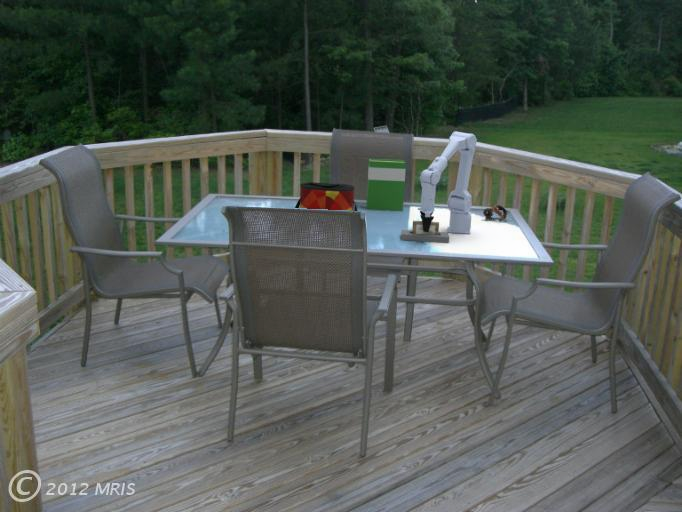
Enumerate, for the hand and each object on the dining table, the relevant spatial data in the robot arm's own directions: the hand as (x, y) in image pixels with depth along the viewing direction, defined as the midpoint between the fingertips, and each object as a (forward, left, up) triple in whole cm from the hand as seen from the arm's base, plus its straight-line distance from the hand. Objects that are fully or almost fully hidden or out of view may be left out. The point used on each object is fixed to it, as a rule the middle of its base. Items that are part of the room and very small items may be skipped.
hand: (425, 229), depth 316 cm
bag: (+46, -28, -4) cm, 53 cm away
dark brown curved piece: (-35, -43, -4) cm, 56 cm away
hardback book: (+18, -53, -4) cm, 56 cm away
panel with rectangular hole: (0, 0, -4) cm, 4 cm away
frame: (0, 0, -4) cm, 4 cm away
